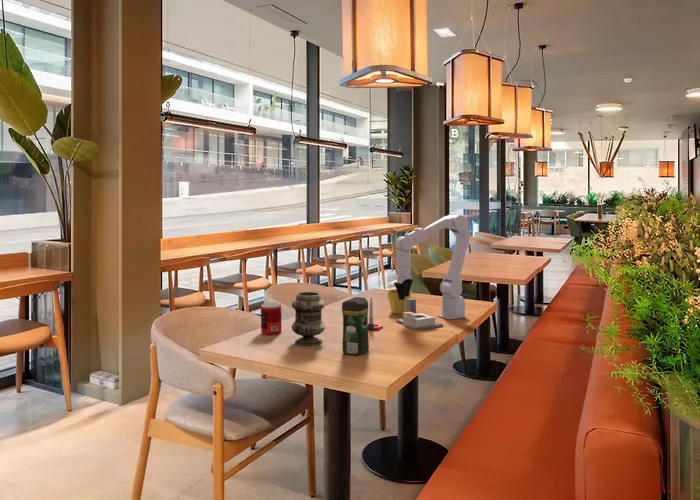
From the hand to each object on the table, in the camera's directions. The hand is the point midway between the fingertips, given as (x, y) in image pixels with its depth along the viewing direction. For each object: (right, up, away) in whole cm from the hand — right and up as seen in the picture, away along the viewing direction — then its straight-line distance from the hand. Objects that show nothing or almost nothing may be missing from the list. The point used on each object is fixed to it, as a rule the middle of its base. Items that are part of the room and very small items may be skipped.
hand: (403, 297), depth 239 cm
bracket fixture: (+6, -10, -5) cm, 13 cm away
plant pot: (0, -8, +18) cm, 19 cm away
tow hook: (-14, -11, -11) cm, 21 cm away
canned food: (-53, -12, -18) cm, 57 cm away
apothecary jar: (-38, -14, -32) cm, 51 cm away
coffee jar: (-21, -15, -45) cm, 51 cm away
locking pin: (+4, -9, +7) cm, 12 cm away
